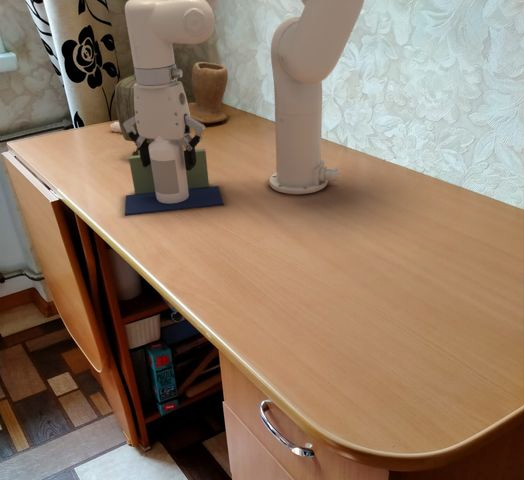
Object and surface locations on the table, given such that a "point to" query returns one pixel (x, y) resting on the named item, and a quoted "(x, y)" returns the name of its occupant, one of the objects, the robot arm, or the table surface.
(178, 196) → the white capped bottle
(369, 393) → the table surface
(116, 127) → the sitting furry creature
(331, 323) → the table surface
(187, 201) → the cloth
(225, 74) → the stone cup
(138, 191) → the backboard
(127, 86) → the tabletop clock
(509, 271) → the table surface
